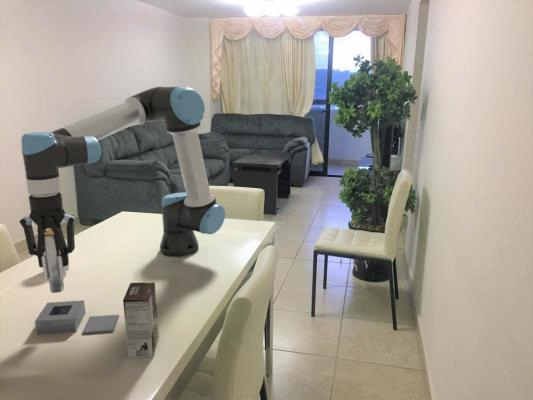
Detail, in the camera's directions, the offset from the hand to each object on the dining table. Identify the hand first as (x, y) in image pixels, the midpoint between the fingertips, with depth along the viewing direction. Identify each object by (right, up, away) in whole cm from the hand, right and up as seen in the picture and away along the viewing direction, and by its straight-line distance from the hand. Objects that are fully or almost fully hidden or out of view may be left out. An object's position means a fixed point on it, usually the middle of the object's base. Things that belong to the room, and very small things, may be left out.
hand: (55, 277), depth 117 cm
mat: (+11, -14, +3) cm, 18 cm away
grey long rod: (0, -4, +1) cm, 4 cm away
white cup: (-17, -4, +38) cm, 42 cm away
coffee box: (+26, -17, -7) cm, 32 cm away
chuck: (0, -14, +4) cm, 14 cm away
